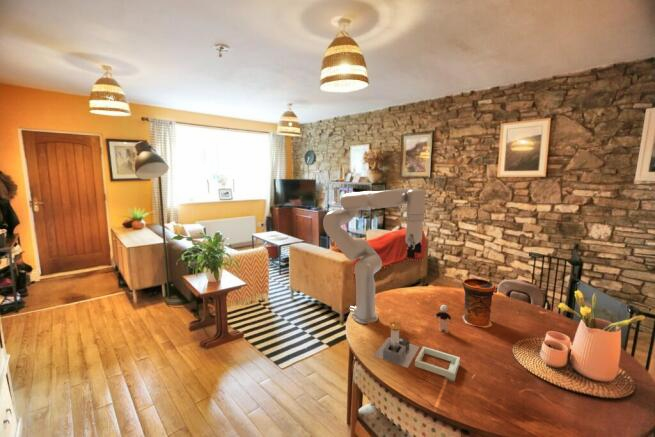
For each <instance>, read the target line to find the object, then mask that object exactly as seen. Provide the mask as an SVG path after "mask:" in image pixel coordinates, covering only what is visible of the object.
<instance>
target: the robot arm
mask: <svg viewBox="0 0 655 437" xmlns="http://www.w3.org/2000/svg"><path fill="white" fill-rule="evenodd" d="M339 205H340V206H341V207H340V208H337V209H335V210H330V211H327V213H325V215H324V217H323V221H322V224H323V230H324V232H325V233H326V235H327V236H328V237H329V238H330V239H331V240H332V242H334V243H335V245H336V246H337V248H338V249H339V250H340V252H341V253H342V254H343V255H344V256H345V258H347V259H348V260H349V261H354V260H355V261H356V260H357V259H359V260H358V261H357V262H356V263H355V265H354V269H353V270H354V271H353V272H354V275H355V306H353V305H350V307H349V312H351V313H353V316H352V319H353V320H354V321H355V322H356V323H359V324H363V325H367V324H368V325H369V323H376V322H377V321H379V316H378V314H377V313H376V282H375V276H374V275H375V274H376V273H377V272H379V271H380V270H381V269H382V266H383V261H382V258H381V256H379V254H378V253H377V252H376V250H375V249H374V248H373V247H372V246H371V245H370V243H368V241H367V240H365V239H364V238H360V237H359V238H358V237H357V238H355V239H354V238H353V237H352V236H351V235H350V234H349V232H348V231H347V230H345V229H344V228H343V227H341V226H343V225H346V224H348V223H350V222H351V221H352V220H353V218H354V217H355V216H356V215H357V213H359V211H360V210H369V209H371V210H372V209H373V210H374V209H383V208H395V207H399V206H403V205H406V222H407V223H406V231H405V244H407V245H406V246H407V248H406V257H407V259H415V258H416V254H421V253H422V240H423V232H424V231H423V222H425V217H426V216H425V210H426V191H425V190H424V189H422V188H421V189H420V188H415V189H413V188H411V189H409V188H403V187H402V188H394V189H393V188H392V189H385V190H377V191H372V190H363V191H359V192H358V191H355V192H347V193H344V194H343V195H341V197H340V200H339Z"/></svg>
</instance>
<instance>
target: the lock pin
mask: <svg viewBox="0 0 655 437" xmlns="http://www.w3.org/2000/svg"><path fill="white" fill-rule="evenodd" d="M401 327H402V324H401V323H400V322H398V321H391V322H389V327H388V328H389V329H390V338H391V351H394V352H397V353H398V352H399V337H400V330H401V329H402V328H401Z"/></svg>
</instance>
